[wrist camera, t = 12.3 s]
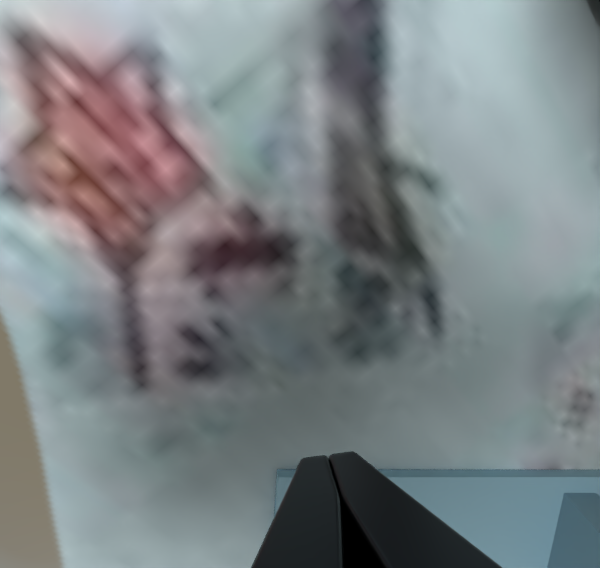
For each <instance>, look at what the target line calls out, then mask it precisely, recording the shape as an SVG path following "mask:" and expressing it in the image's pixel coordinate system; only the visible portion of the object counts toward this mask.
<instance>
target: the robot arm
mask: <svg viewBox="0 0 600 568" xmlns="http://www.w3.org/2000/svg"><path fill="white" fill-rule="evenodd" d="M599 1H600V0H599ZM251 568H502V567H501V566H500V565H498V564H497V563H496V562H495V561H493V560H492V559H491V558H490V557H488V556H487V555H486V554H484V553H483V552H482V551H481V550H479V549H478V548H477V547H475V546H474V545H473V544H472V543H470V542H469V541H468V540H467V539H465V538H464V537H463V536H461V535H460V534H459V533H458V532H456V531H455V530H454V529H452V528H451V527H450V526H449V525H447V524H446V523H445V522H444V521H442V520H441V519H440V518H438V517H437V516H436V515H435V514H433V513H432V512H431V511H429V510H428V509H427V508H426V507H424V506H423V505H422V504H421V503H419V502H418V501H417V500H415V499H414V498H413V497H412V496H410V495H409V494H408V493H406V492H405V491H404V490H403V489H401V488H400V487H399V486H398V485H396V484H395V483H394V482H392V481H391V480H390V479H389V478H387V477H386V476H385V475H383V474H382V473H381V472H380V471H378V470H377V469H376V468H375V467H373V466H372V465H371V464H369V463H368V462H367V461H366V460H364V459H363V458H362V457H360V456H359V455H358V454H357V453H355V452H344V453H337V454H332V455H330V456H329V459H328V458H327V456H324V455H322V456H314V457H306V458H303V459H302V460H301V461H300V463H299V465H298V467H297V469H296V471H295V474H294V476H293V478H292V480H291V482H290V484H289V487H288V489H287V491H286V493H285V495H284V497H283V500H282V502H281V504H280V506H279V508H278V510H277V513H276V515H275V517H274V519H273V521H272V523H271V526H270V528H269V530H268V532H267V534H266V537H265V539H264V541H263V543H262V545H261V547H260V550H259V552H258V554H257V556H256V558H255V560H254V563H253V565H252V567H251Z"/></svg>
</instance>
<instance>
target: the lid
mask: <svg viewBox="0 0 600 568" xmlns="http://www.w3.org/2000/svg"><path fill="white" fill-rule="evenodd" d="M295 471H296V469H277V478H276V494H275V509H274V517H275V515H276V513H277V510H278V508H279V506H280V504H281V502H282V500H283V497H284V495H285V493H286V491H287V489H288V487H289V484H290V482H291V480H292V478H293V476H294V474H295ZM378 471H380V472H381V473H382V474H383V475H385V476H386V477H387V478H389V479H390V480H391V481H392V482H394V483H395V484H396V485H398V486H399V487H400V488H401V489H403V490H404V491H405V492H406V493H408V494H409V495H410V496H412V497H413V498H414V499H415V500H417V501H418V502H419V503H421V504H422V505H423V506H424V507H426V508H427V509H428V510H429V511H431V512H432V513H433V514H435V515H436V516H437V517H438V518H440V519H441V520H442V521H444V522H445V523H446V524H447V525H449V526H450V527H451V528H452V529H454V530H455V531H456V532H458V533H459V534H460V535H461V536H463V537H464V538H465V539H467V540H468V541H469V542H470V543H472V544H473V545H474V546H475V547H477V548H478V549H479V550H481V551H482V552H483V553H484V554H486V555H487V556H488V557H490V558H491V559H492V560H493V561H495V562H496V563H497V564H498V565H500V566H501V567H502V568H600V470H378Z"/></svg>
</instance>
